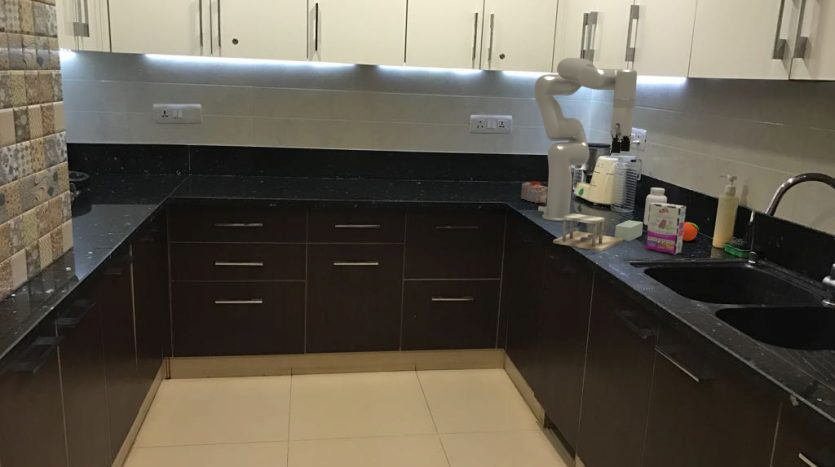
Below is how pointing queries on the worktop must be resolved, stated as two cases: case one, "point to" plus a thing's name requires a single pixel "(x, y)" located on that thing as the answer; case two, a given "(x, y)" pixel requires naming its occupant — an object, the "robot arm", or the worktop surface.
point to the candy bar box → (665, 228)
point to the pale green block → (629, 230)
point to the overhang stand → (586, 234)
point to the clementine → (689, 231)
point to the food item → (534, 192)
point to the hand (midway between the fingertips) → (620, 152)
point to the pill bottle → (654, 200)
